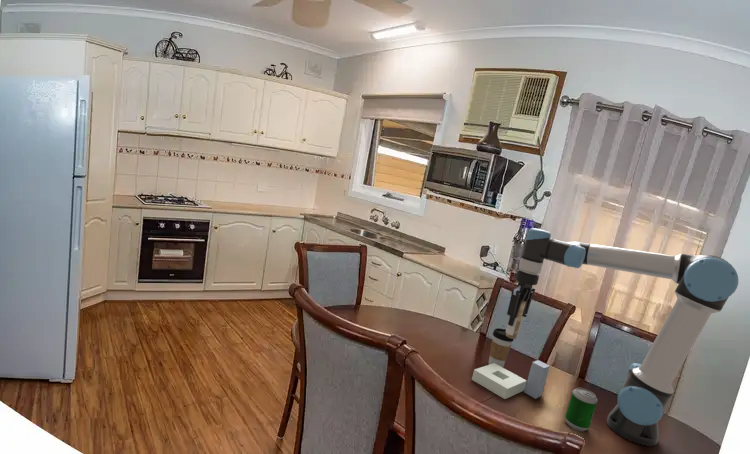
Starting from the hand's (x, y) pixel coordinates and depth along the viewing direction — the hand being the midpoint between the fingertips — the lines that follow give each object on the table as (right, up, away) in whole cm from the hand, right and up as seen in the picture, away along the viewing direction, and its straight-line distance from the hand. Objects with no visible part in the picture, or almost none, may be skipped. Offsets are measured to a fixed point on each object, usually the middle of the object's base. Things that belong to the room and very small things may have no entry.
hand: (512, 332), depth 158 cm
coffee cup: (0, -19, +21) cm, 28 cm away
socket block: (-4, -20, +3) cm, 21 cm away
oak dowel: (0, -1, 0) cm, 2 cm away
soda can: (+17, -27, -14) cm, 35 cm away
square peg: (+8, -23, +2) cm, 24 cm away
